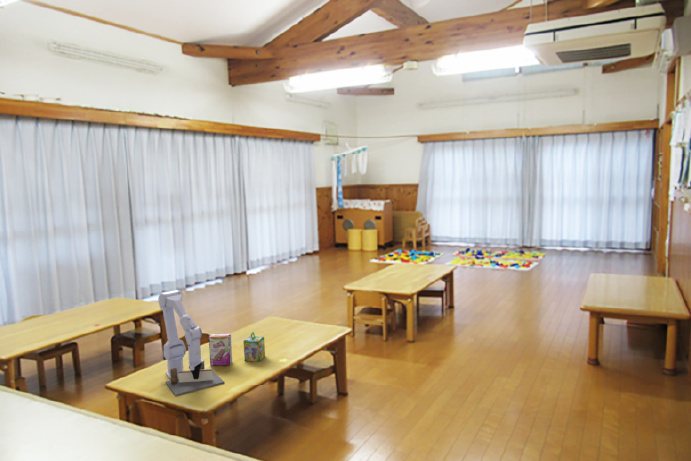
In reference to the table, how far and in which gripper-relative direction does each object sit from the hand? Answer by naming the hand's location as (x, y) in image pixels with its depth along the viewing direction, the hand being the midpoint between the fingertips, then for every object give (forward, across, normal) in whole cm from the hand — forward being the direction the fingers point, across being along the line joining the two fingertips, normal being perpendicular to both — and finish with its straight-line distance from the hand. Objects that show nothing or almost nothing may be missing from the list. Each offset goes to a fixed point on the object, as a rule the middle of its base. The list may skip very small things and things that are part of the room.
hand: (196, 378), depth 233 cm
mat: (+3, +2, +1) cm, 4 cm away
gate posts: (+3, +6, +5) cm, 8 cm away
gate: (+2, +2, +1) cm, 3 cm away
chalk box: (+3, +31, -25) cm, 40 cm away
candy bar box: (+3, +26, -8) cm, 27 cm away
